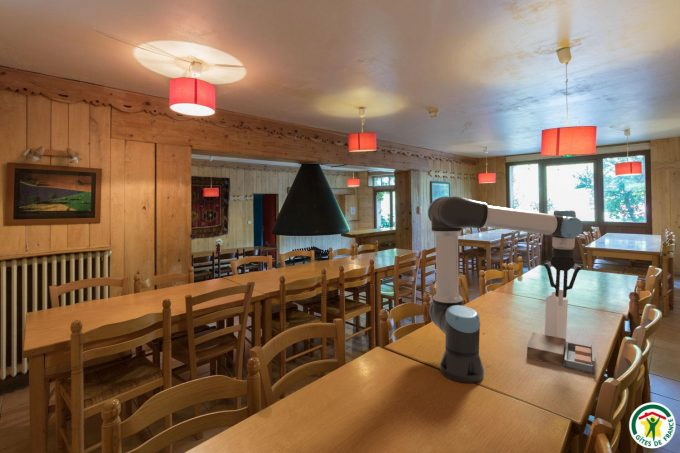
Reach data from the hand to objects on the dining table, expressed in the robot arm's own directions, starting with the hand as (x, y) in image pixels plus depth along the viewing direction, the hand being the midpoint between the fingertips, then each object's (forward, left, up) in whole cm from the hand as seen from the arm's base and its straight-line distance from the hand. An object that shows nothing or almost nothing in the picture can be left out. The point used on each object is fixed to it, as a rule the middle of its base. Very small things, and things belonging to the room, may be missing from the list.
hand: (560, 304), depth 138 cm
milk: (-2, +15, -20) cm, 25 cm away
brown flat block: (-4, -4, -20) cm, 21 cm away
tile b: (+8, 0, -17) cm, 19 cm away
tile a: (+8, -9, -17) cm, 21 cm away
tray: (+7, -4, -20) cm, 22 cm away
